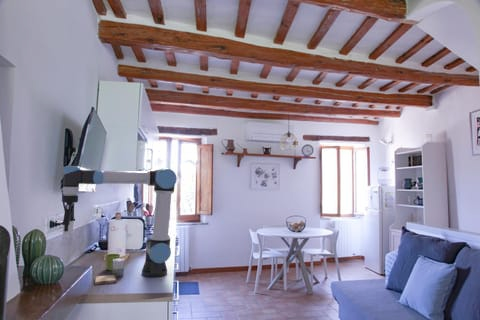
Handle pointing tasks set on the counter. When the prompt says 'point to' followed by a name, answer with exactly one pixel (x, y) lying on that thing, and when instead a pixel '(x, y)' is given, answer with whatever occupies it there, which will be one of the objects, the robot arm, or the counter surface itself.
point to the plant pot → (110, 260)
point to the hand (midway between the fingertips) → (68, 235)
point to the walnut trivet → (105, 279)
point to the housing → (118, 267)
